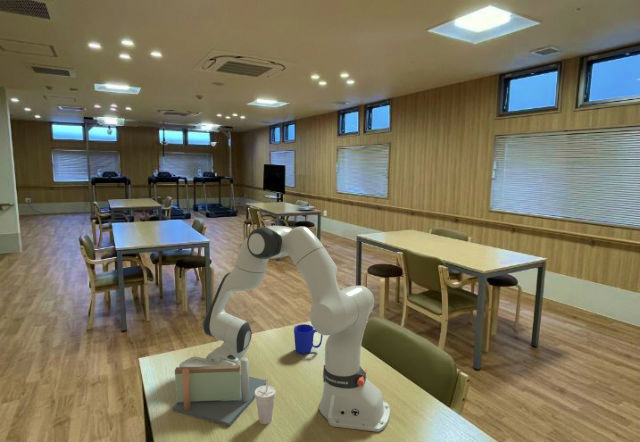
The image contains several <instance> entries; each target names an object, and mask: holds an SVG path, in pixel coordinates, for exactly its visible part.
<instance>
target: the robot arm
mask: <svg viewBox="0 0 640 442" xmlns="http://www.w3.org/2000/svg"><path fill="white" fill-rule="evenodd" d="M287 256H288V257H290V260H291V261H292V263H294V265H295V268H297V271H298V272H299V273H300V275H301V277H302V279H303V280H304V282H305V284H306V285H307V288H308V291H309V293H310V294H309V295H310V298H311V307H310V311H309V321H310V324H311V326H312V327H313V328H314V330H316V331H317V332H316V333H317V334H320V336H321V335H323V336H328V337H327V339H326V341H325V347H324V351H325V352H324V353H325V354H324V365H323V371H322V372H323V373H322V378H323V379H322V380H323V388H322V389H323V390H322V396H321V399H320V402H319V406H318V407H319V408H318V409H319V412H320V413H321V415H322V416H323V417H324V418H326V420H327V423H328V425H329V426H331V427H334V428H344V429H352V430H361V431H368V432H370V431H371V432H381V431H383V430H385V428H386V427H387V425H388V423H389V421H390V417H391V407H390V405H389V404H388V402H387V401H384V397H383V395H382V394H383V393H382V391H381V390H380V389H379V387H377V386H375V385H374V384H373V383H372V382H371V381H369V379H367V370H368V369H367V368H364V369H363V368H362V367H361V353H362V352H361V349H362V343H363V338H364V334H365V331H366V326H367V323H368V319H369V317H370V314H371V313H372V310H373V309H374V306H375V297H374V294H373V292H372V291H371V290H370V289H369V288H367V287H366V286H364V285H350V286H347V287H345V288H343V289H341V288H340V287H339V283H338V281H337V274H338V265H337V264H336V263H335V261H334V260H333V258H332V256H331V255H330V254H329V252H328V250H327V249H326V248H325V246H324V245H323V244H322V242H321V241H320V240H319V237H317V235H315V233H314V232H312V231H311V230H310V229H309V228H308V227H307V226H296V227H293V226H290V225H284V226H283V225H269V226H268V225H267V226H260V227H258V228H255V229H254V230H252V231H251V232H250V233H249V235H248V236H247V237H246V238H245V239H244V240H243V242H242V244H241V247H240V248H239V251H238V253H237V257H236V259H235V264H234V267H233V269H232V271H230V272H227V273H226V274H225V275H224V276H223V278H222V280H221V282H220V283H219V286H218V288H217V290H216V292H215V295H214V298H213V300H212V302H211V305H210V307H209V309H208V311H207V312H206V314H205V316H204V318H203V320H202V329H203V332H204V334H205V335H206V336H209V337H212V338H215V339H217V340H220V341H222V344H221V345H220V346H218V347H216V348H215V349H214V350H212V351H211V352H209V353H208V354H207V355H206V357H200V356H192V357H189V358H187V359H186V360H184V361H182V362H181V363H180V364H179V365H178V367H200V366H227V365H240V361H241V359H243V358H244V356H245V355H246V354H247V352H248V351H249V348H250V346H251V345H250V343H251V340H252V334H253V333H252V327H251V325H250V323H249V322H247V321H246V320H244V319H242V318H241V317H237V316H234V315H232V314H230V313H228V312H227V311H226V310H225V307H226V304H227V303H228V300H229V299H230V295H231V294H232V292H246V291H252V290H254V289H257V288H258V287H259V286H260V285H262V283H263V281H264V279H265V275H266V270H267V266H268V262H269V260H270V259H280V258H284V257H287Z"/></svg>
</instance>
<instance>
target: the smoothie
mask: <svg viewBox="0 0 640 442" xmlns="http://www.w3.org/2000/svg"><path fill="white" fill-rule="evenodd" d="M265 380H266V385H264V386H260V387H258V388H257V389H256V390H255V394H254V396H255V401H256V406H257V407H256V408H257V413H258V421H259V423H260V424H261V425H268V424H270V423H271V422H272V419H273V410H274V404H275V397H276V396H277V395H276V392H277V391H276V390H277V389H276V388H275V387H274V386H272V385H269V381H268V377H265Z"/></svg>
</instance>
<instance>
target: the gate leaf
mask: <svg viewBox="0 0 640 442" xmlns="http://www.w3.org/2000/svg"><path fill="white" fill-rule="evenodd" d="M185 368H188V369H189V380H190V402H192V401H214V400H237V399H240V397H241V389H240V374H241V364H239V365H227V366H200V367H179V366H178V367H177V366H176V367H175V369H174V377H175V378H174V379H175V380H174V381H175V402H176V403H178V402H184V398H183V377H182V370H183V369H185Z"/></svg>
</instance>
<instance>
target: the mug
mask: <svg viewBox="0 0 640 442" xmlns="http://www.w3.org/2000/svg"><path fill="white" fill-rule="evenodd" d="M315 333H318V332H317V331H316V330H315V329H314V328H313V326H312V324H311V325H310V324H305V323H304V324H303V323H302V324H297V325H295V326H294V327H293V336H294V348H295V351H296V352H297V353H298V354H301V355H305V354H309V353H310V352H311V351H312V350H313V348H314V349H318V348H320V347H321V345H322V342H323V336H324V335H321V334H320V339H319V344H317V345H315V344H314V336H315Z"/></svg>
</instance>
